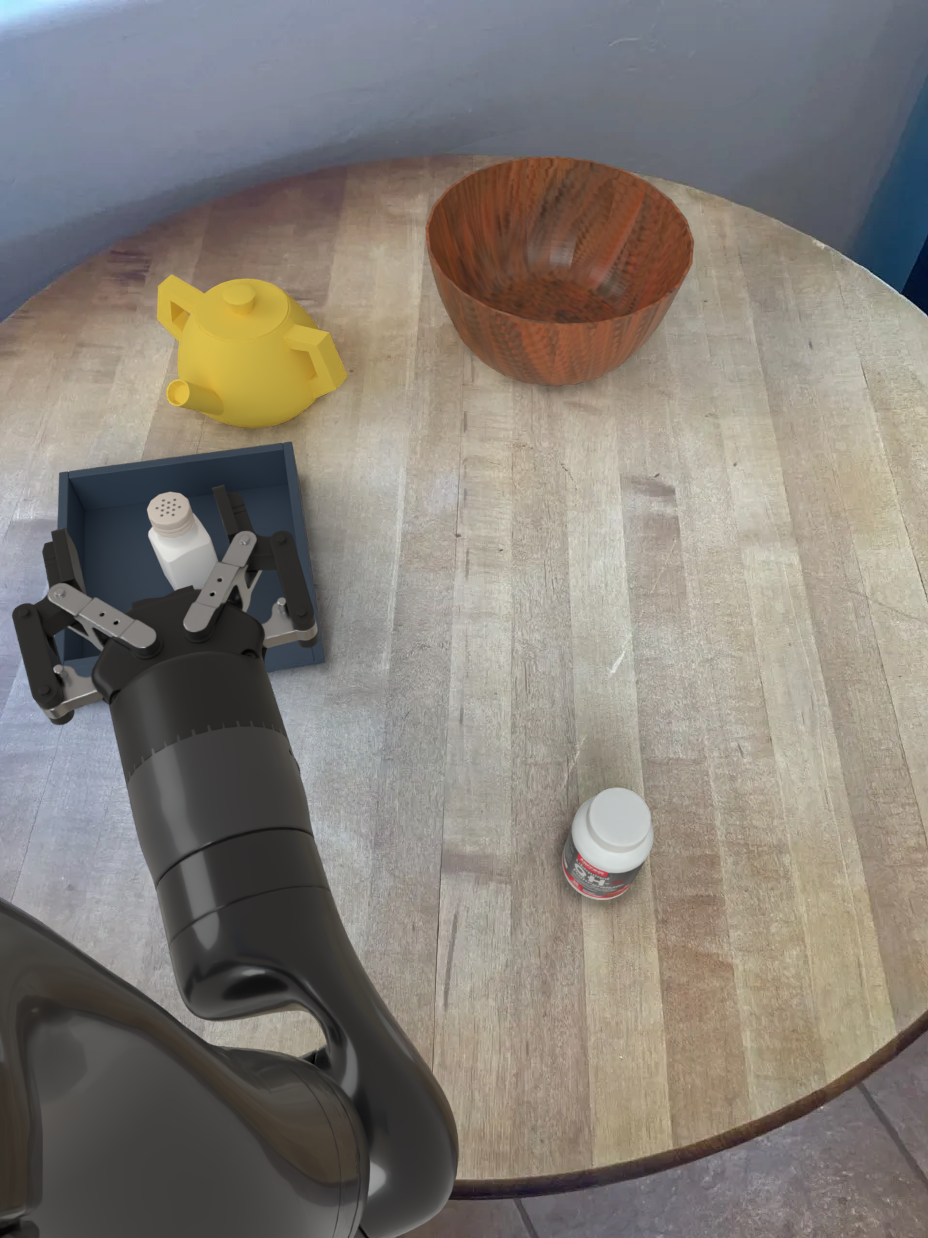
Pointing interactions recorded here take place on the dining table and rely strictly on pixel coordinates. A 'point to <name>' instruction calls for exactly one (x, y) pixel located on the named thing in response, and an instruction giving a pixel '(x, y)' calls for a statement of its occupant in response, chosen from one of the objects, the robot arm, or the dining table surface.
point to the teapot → (246, 352)
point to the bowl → (556, 265)
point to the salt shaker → (180, 541)
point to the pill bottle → (608, 843)
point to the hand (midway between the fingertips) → (143, 516)
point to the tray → (262, 475)
